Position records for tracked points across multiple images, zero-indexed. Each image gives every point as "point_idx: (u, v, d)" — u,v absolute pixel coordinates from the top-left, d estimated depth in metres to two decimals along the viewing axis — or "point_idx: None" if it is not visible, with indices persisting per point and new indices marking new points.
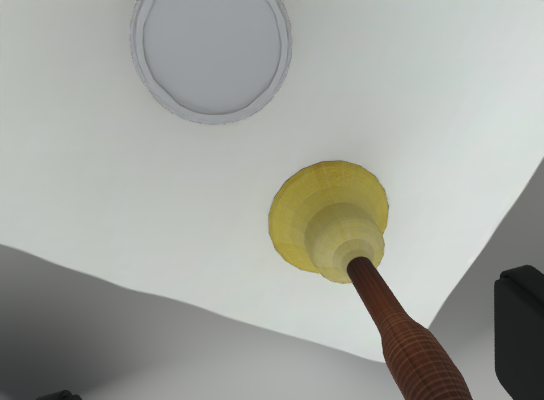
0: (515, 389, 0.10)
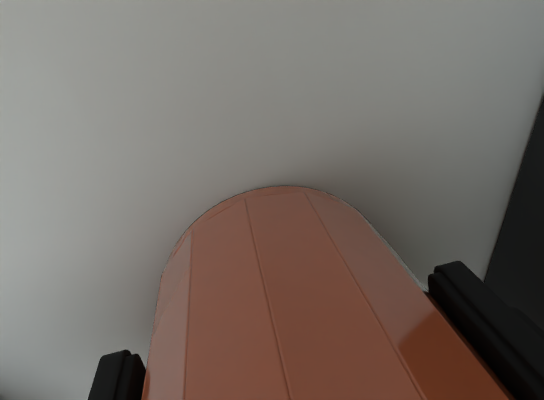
0: None
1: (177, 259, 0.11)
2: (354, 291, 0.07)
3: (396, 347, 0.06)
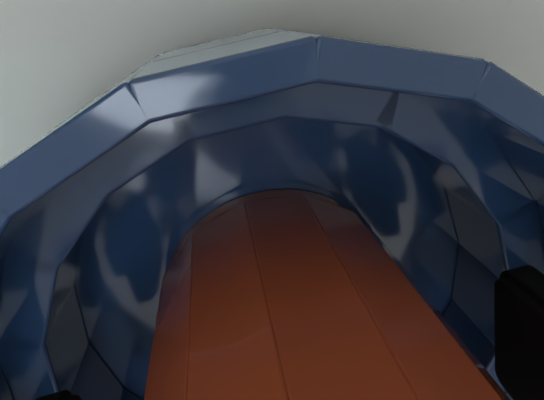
0: (515, 389, 0.10)
1: (178, 261, 0.11)
2: (351, 293, 0.07)
3: (392, 348, 0.06)
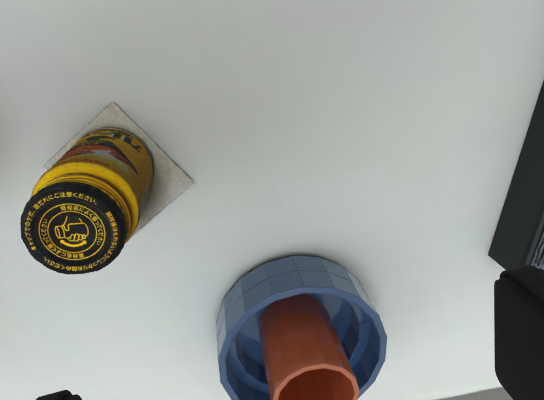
0: (515, 389, 0.10)
1: (267, 316, 0.39)
2: (311, 328, 0.35)
3: (317, 339, 0.34)
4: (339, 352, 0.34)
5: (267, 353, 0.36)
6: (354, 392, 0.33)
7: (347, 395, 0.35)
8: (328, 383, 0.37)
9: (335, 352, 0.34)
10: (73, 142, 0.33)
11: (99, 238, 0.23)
